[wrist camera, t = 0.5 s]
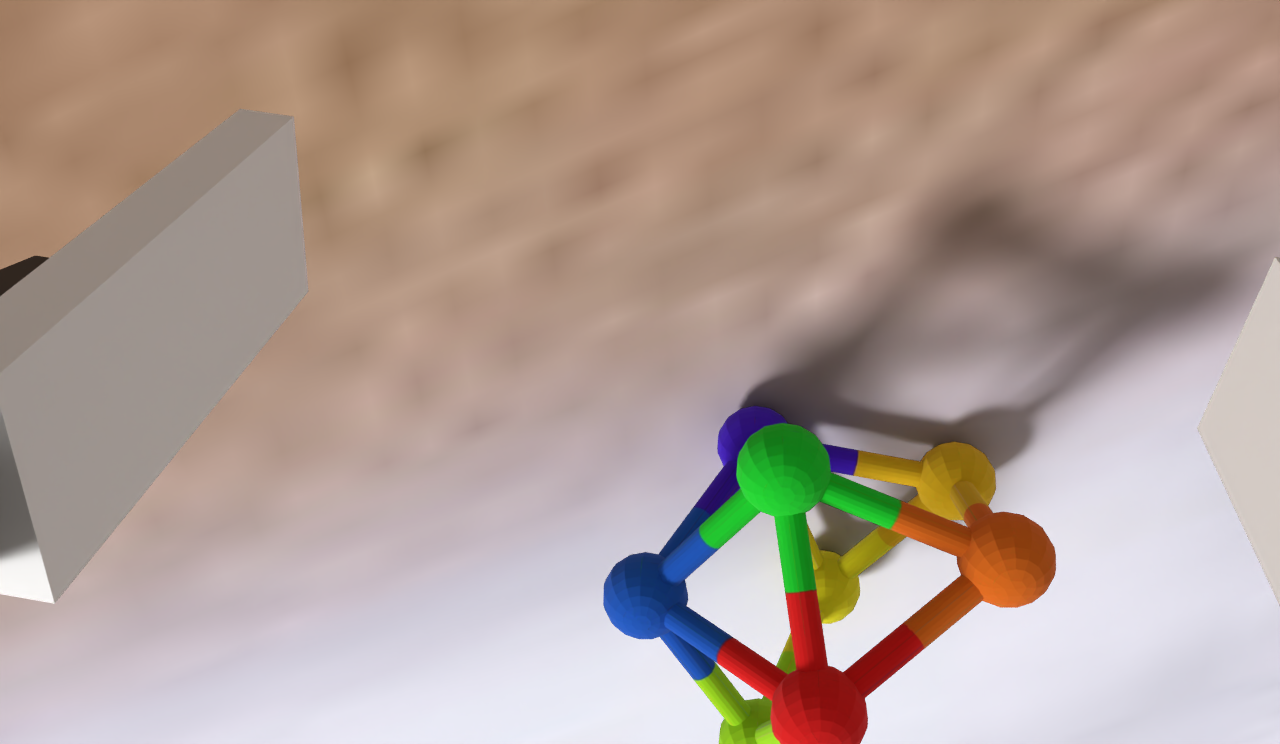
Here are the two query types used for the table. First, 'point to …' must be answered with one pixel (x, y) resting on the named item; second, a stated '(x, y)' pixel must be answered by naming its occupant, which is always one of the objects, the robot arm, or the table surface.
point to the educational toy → (824, 572)
